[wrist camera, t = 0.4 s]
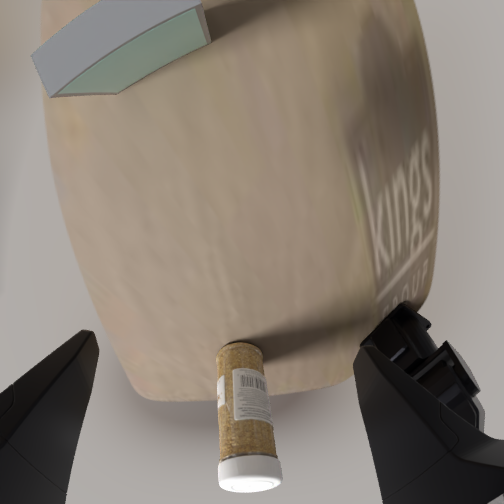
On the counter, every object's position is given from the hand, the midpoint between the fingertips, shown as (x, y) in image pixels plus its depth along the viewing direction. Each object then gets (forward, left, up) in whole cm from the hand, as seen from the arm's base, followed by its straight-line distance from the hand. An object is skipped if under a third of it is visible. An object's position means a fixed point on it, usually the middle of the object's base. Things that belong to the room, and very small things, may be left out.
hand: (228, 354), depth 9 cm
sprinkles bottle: (-9, +12, -14) cm, 20 cm away
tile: (+10, -7, -13) cm, 18 cm away
